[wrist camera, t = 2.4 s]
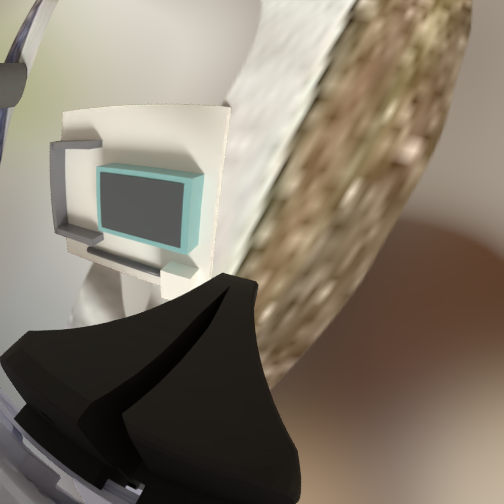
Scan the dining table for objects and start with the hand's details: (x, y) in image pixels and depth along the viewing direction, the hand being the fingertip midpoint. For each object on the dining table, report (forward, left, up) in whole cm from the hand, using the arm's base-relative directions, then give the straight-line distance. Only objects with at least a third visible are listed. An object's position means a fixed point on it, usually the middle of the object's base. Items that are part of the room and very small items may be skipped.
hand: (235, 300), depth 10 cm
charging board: (0, +12, -9) cm, 15 cm away
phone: (0, +9, -8) cm, 12 cm away
